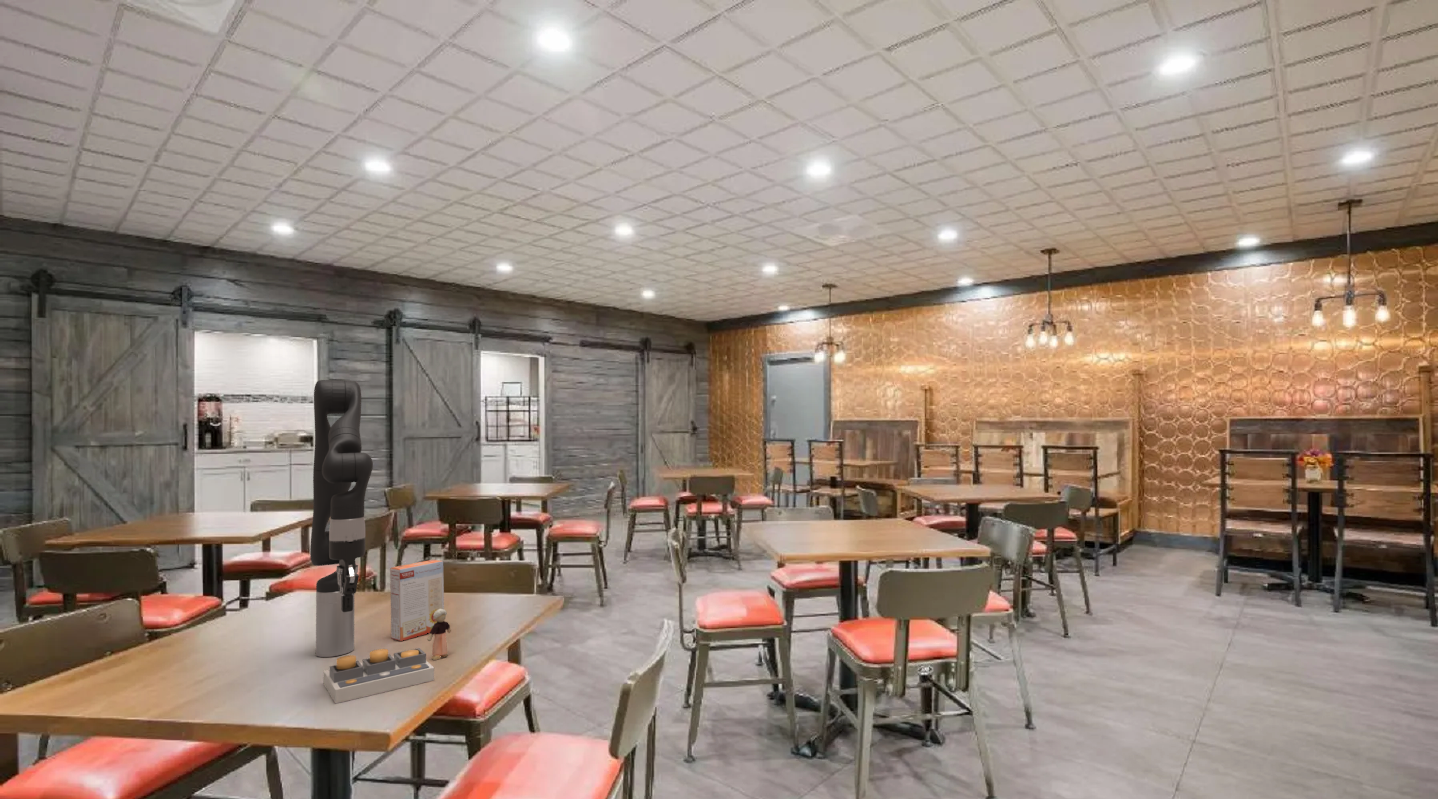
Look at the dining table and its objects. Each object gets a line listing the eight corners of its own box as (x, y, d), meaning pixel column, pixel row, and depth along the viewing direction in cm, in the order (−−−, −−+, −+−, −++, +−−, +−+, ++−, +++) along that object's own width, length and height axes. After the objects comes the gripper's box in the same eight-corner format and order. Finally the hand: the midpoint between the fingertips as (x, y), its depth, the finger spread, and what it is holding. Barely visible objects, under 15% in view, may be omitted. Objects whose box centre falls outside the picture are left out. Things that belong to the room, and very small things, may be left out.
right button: (399, 660, 167) (399, 652, 167) (416, 656, 169) (416, 648, 169) (403, 664, 164) (403, 656, 164) (420, 660, 166) (420, 652, 166)
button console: (323, 683, 162) (323, 661, 162) (415, 663, 175) (415, 642, 175) (335, 703, 149) (335, 679, 149) (434, 680, 162) (434, 658, 163)
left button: (335, 666, 158) (335, 657, 158) (354, 662, 161) (354, 654, 161) (338, 671, 155) (338, 662, 155) (357, 666, 157) (357, 658, 158)
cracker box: (433, 626, 208) (433, 558, 209) (444, 629, 204) (444, 560, 205) (389, 638, 197) (389, 566, 197) (400, 642, 193) (400, 568, 194)
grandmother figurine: (438, 661, 175) (438, 612, 176) (425, 661, 176) (425, 612, 177) (455, 652, 183) (455, 605, 184) (442, 651, 184) (442, 604, 184)
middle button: (367, 659, 162) (368, 651, 163) (385, 656, 165) (385, 647, 165) (371, 663, 159) (371, 655, 159) (389, 660, 162) (389, 651, 162)
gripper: (324, 536, 162) (324, 608, 161) (334, 542, 152) (334, 620, 151) (359, 532, 167) (358, 603, 166) (371, 538, 157) (370, 613, 156)
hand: (347, 611), depth 158 cm, fingers closed
